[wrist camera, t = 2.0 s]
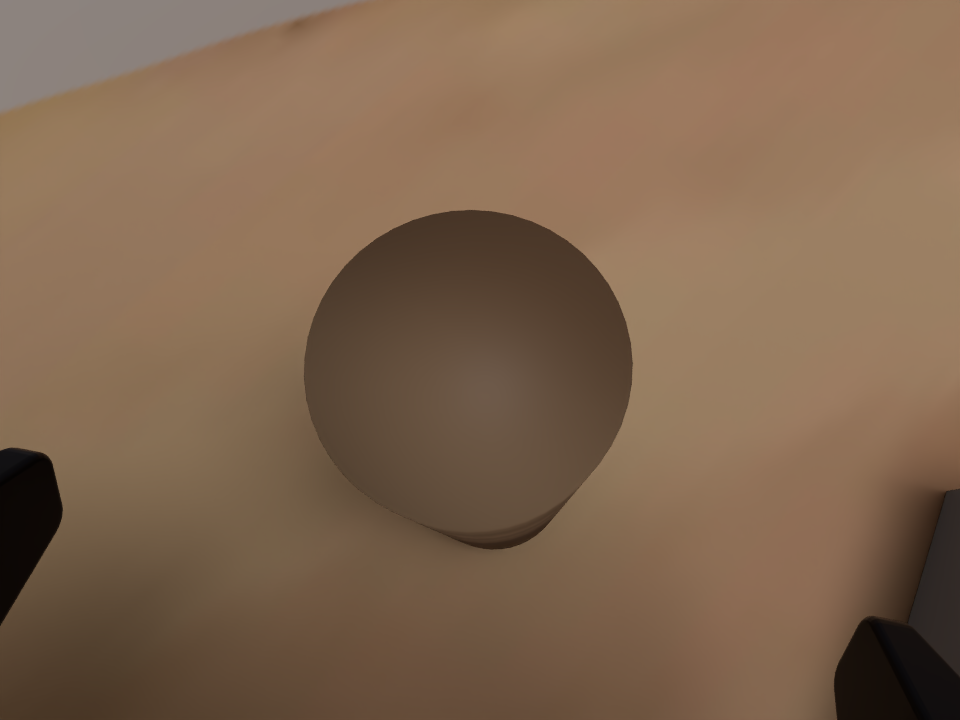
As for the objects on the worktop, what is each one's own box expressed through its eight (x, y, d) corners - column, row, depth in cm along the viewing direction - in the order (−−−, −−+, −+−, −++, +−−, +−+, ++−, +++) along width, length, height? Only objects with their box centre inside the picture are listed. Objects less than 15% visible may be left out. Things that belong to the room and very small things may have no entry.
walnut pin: (531, 574, 18) (555, 586, 8) (398, 512, 19) (246, 444, 8) (586, 439, 19) (680, 278, 8) (457, 384, 19) (390, 166, 9)
